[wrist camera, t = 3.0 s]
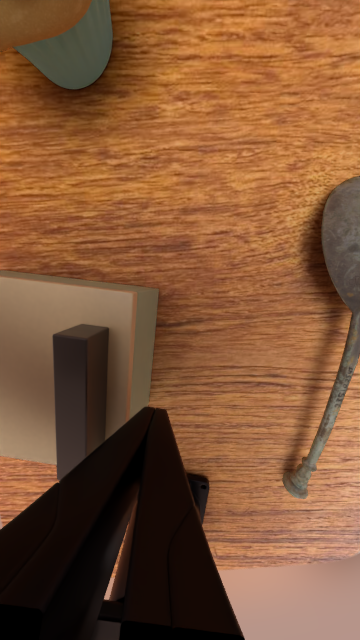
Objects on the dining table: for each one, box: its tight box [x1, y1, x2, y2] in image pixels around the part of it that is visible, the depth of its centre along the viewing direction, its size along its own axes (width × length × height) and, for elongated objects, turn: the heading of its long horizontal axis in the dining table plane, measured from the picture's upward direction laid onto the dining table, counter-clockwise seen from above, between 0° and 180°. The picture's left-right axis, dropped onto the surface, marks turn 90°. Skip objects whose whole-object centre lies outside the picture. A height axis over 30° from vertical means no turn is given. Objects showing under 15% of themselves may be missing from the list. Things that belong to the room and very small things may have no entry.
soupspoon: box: [282, 176, 360, 499], centre depth 11 cm, size 22×3×7 cm
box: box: [0, 270, 159, 420], centre depth 11 cm, size 9×11×5 cm
